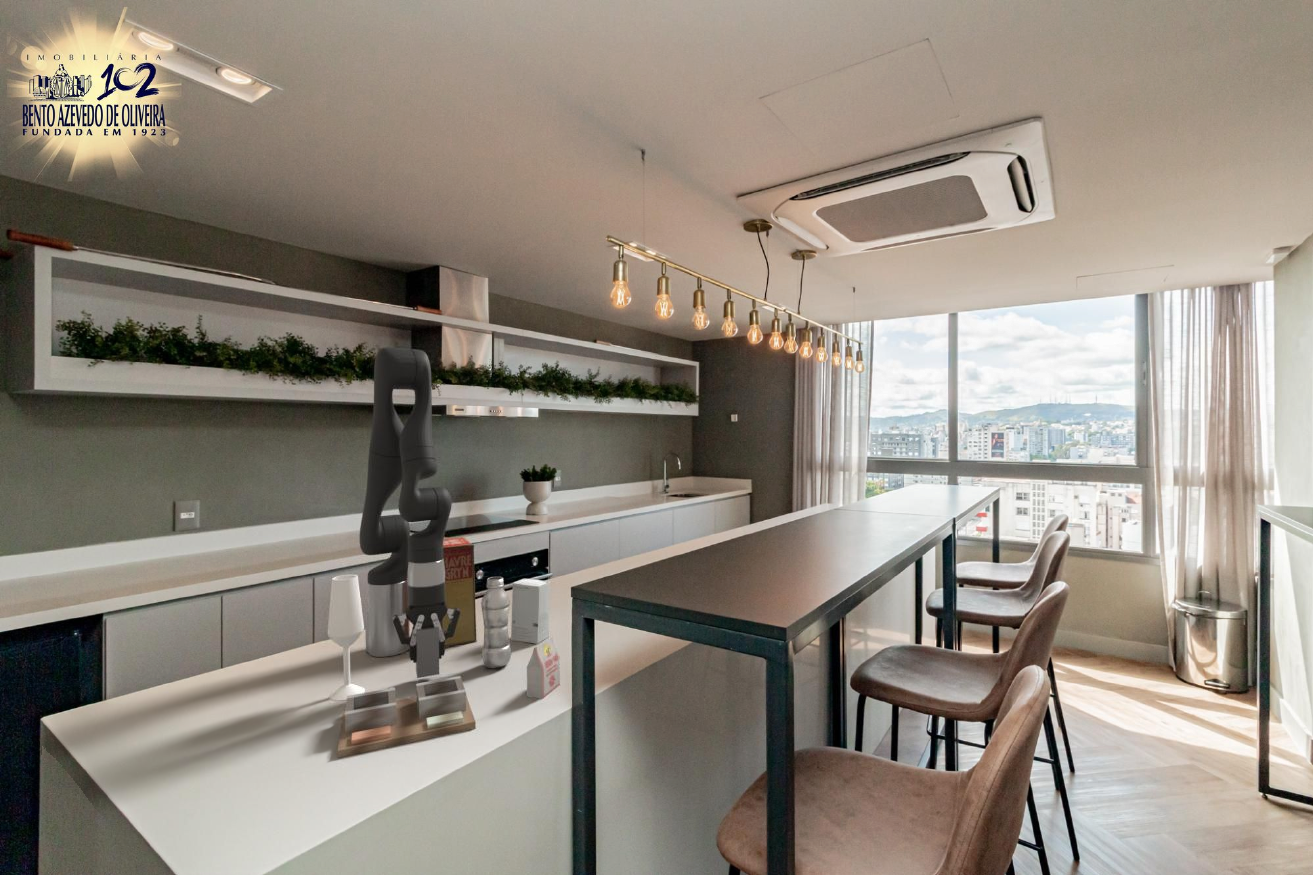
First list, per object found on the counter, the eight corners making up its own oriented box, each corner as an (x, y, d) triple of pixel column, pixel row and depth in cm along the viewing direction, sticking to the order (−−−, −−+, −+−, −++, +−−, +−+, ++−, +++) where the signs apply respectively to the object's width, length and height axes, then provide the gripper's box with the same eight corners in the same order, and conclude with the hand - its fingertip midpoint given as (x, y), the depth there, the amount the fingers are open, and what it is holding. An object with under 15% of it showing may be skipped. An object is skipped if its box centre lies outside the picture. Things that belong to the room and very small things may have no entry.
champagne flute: (350, 701, 120) (347, 581, 120) (321, 699, 122) (318, 580, 121) (372, 687, 127) (370, 573, 127) (344, 685, 128) (342, 572, 128)
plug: (417, 678, 127) (416, 631, 127) (415, 670, 131) (415, 624, 131) (439, 674, 129) (438, 627, 129) (437, 666, 133) (436, 621, 133)
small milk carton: (527, 695, 122) (526, 646, 122) (544, 682, 128) (543, 635, 128) (543, 698, 121) (542, 648, 121) (559, 685, 127) (559, 637, 127)
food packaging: (431, 632, 161) (430, 539, 161) (468, 626, 166) (466, 536, 165) (439, 648, 149) (437, 547, 149) (478, 641, 154) (476, 543, 154)
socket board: (337, 757, 99) (337, 729, 99) (342, 716, 114) (342, 691, 114) (475, 728, 109) (475, 702, 109) (463, 693, 123) (463, 670, 123)
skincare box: (510, 640, 154) (509, 583, 154) (523, 633, 160) (522, 577, 159) (539, 644, 151) (538, 585, 151) (551, 636, 157) (550, 579, 157)
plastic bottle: (515, 660, 141) (513, 575, 141) (505, 672, 134) (503, 582, 134) (488, 659, 141) (487, 574, 141) (477, 671, 135) (475, 582, 134)
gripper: (390, 589, 123) (391, 672, 123) (463, 581, 129) (464, 660, 129) (389, 580, 130) (390, 659, 130) (458, 573, 136) (459, 648, 136)
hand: (427, 659), depth 130 cm, fingers closed on plug, 4 cm apart
